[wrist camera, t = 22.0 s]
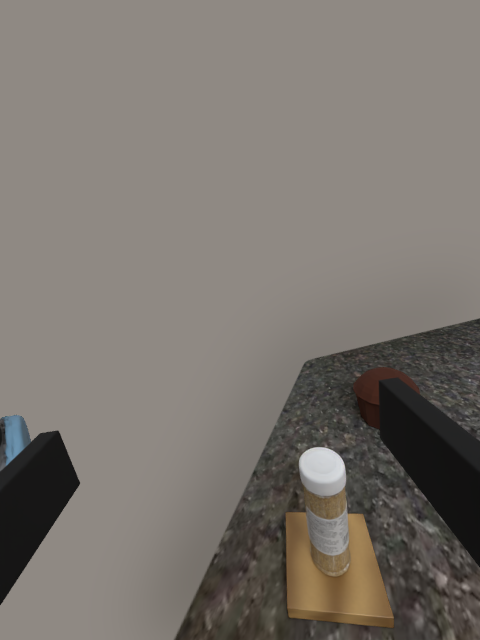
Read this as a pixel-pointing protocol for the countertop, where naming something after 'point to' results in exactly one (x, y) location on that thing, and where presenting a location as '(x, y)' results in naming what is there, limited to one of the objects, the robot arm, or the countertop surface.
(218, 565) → the countertop surface
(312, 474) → the sprinkles bottle
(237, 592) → the countertop surface
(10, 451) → the robot arm
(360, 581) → the cutting board
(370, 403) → the muffin
